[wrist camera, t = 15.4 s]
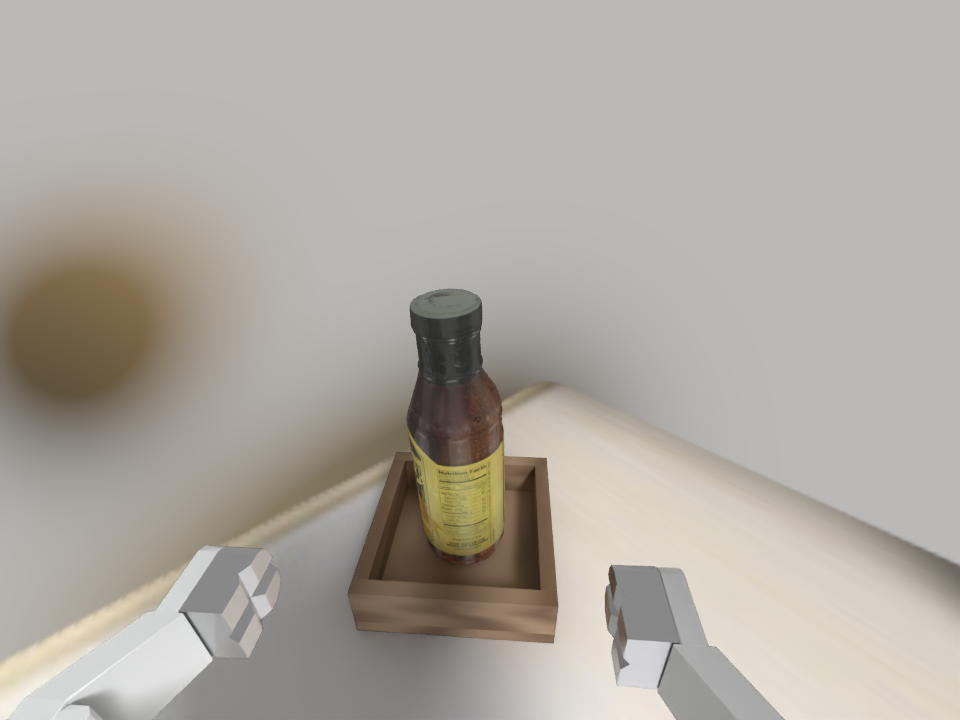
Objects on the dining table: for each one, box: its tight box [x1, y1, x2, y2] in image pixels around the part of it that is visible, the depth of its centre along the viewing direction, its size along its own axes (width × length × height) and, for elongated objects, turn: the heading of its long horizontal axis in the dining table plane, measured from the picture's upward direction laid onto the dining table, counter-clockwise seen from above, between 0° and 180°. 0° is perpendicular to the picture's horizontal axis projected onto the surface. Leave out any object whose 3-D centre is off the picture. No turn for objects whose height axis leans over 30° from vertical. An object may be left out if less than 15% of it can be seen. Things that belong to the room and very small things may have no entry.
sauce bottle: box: [407, 289, 505, 564], centre depth 30 cm, size 6×6×20 cm
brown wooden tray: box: [347, 452, 558, 643], centre depth 34 cm, size 13×13×4 cm
